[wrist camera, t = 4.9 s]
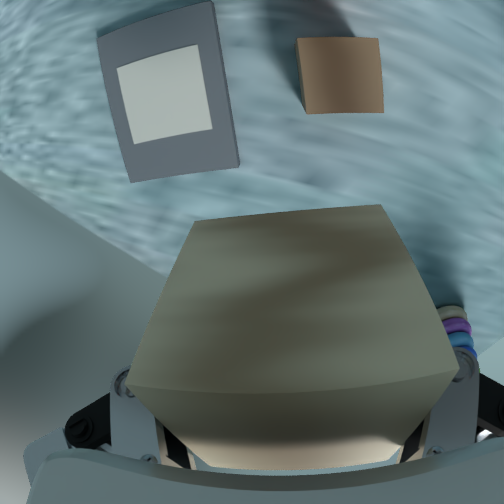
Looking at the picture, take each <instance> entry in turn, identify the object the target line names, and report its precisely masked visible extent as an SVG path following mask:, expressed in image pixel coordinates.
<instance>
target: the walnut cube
mask: <svg viewBox="0 0 504 504" xmlns="http://www.w3.org/2000/svg"><path fill="white" fill-rule="evenodd" d="M294 45H295V52H296V59H297V66H298V74H299V81H300V90H301V98H302V106H303V108H304V110H305V112H306V114H324V113H384V103H383V84H382V71H381V60H380V50H379V41H378V38H362V37H309V38H297V39H296V42H295V44H294Z"/></svg>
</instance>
